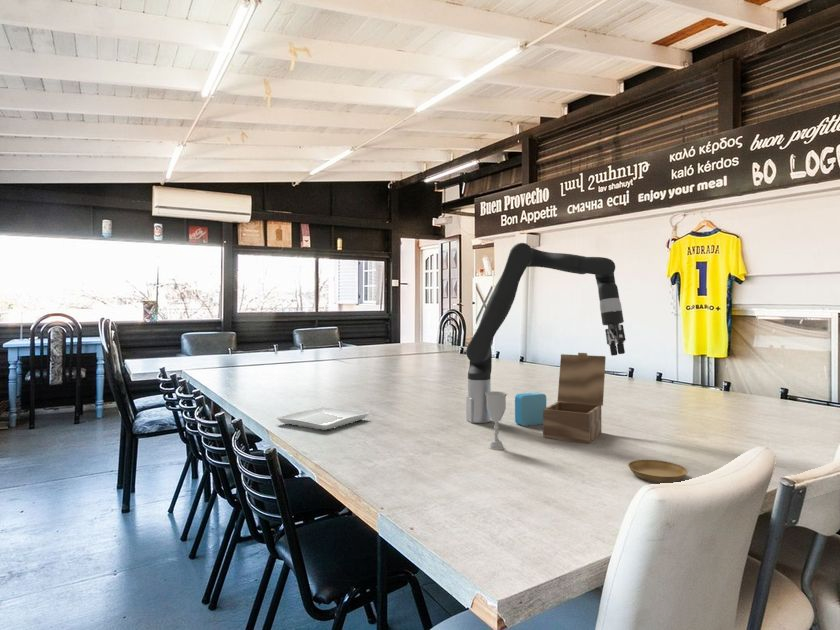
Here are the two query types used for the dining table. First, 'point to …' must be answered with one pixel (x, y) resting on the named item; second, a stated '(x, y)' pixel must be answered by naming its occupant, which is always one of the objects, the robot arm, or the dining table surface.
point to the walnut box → (572, 421)
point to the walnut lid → (581, 379)
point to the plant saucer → (657, 470)
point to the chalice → (496, 414)
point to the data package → (529, 408)
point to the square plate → (347, 414)
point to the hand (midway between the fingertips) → (617, 354)
